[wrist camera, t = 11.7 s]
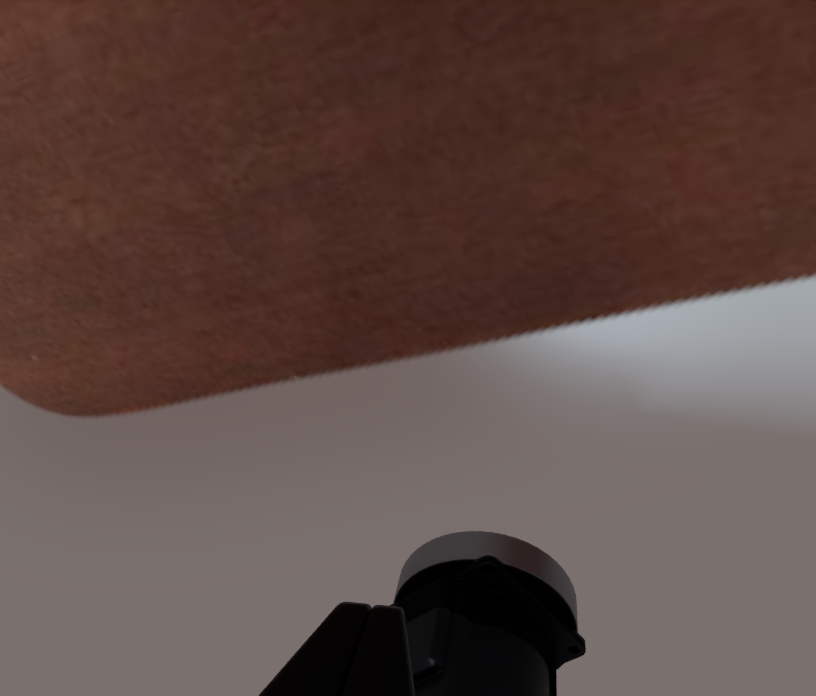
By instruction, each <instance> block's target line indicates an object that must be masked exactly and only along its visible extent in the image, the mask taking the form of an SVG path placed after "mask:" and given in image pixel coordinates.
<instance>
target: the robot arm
mask: <svg viewBox="0 0 816 696" xmlns="http://www.w3.org/2000/svg"><path fill="white" fill-rule="evenodd" d="M486 567H491V569H490V568H486ZM585 652H586V647H585V640H584V638H583V637H582V636H581V635H580V634H579V633H578V632H576V631H575V630H574V629H573V628H572V627H571V626H570V625H569V624H568V623H567V622H566V621H565V620H564V619H563V618H561V617H560V616H559V615H558V614H557V613H556V612H555V611H554V610H553V609H552V608H551V607H550V606H549V605H547V604H546V603H545V602H544V601H543V600H542V599H541V598H540V597H539V596H538V595H537V594H536V593H535V592H534V591H532V590H531V589H530V588H529V587H528V586H527V585H526V584H525V583H524V582H523V581H522V580H521V579H520V578H518V577H517V576H516V575H515V574H514V573H513V572H512V571H511V570H510V569H509V568H508V567H507V566H506V565H504V564H503V563H502V562H501V561H500V560H499V559H498V558H496V557H494V556H491V555H485V556H482V557H480V558H478V559H476V560H474V561H472V562H470V563H468V564H466V565H465V566H463V567H461V568H459V569H457V570H455V571H453V572H451V573H450V574H448V575H446V576H443V577H441V578H439V579H437V580H435V581H433V582H431V583H429V584H428V585H426V586H424V587H422V588H420V589H418V590H416V591H414V592H413V593H411V594H409V595H407V596H405V597H403V599H401V600H399V601H397V602H395V603H393V604H391V605H390V606H384V605H375V606H374V607H373V608H372V607H371V606H370V605H369V604H363V603H353V602H342V603H340V604H339V605H337V606H336V607H335V608H334V610H333V611H332V612H331V613H330V614H329V615H328V617H327V618H326V619H325V620H324V621H323V622H322V623H321V625H320V626H319V627H318V628H317V629H316V631H315V632H314V633H313V634H312V635H311V636H310V637H309V638H308V640H307V641H306V642H305V643H304V644H303V645H302V646H301V648H300V649H299V650H298V651H297V652H296V653H295V654H294V656H293V657H292V658H291V659H290V660H289V661H288V662H287V664H286V665H285V666H284V667H283V668H282V669H281V670H280V672H279V673H278V674H277V675H276V676H275V677H274V679H273V680H272V681H271V682H270V683H269V684H268V685H267V687H266V688H265V689H264V690H263V691H262V692H261V693H260V695H259V696H557V676H556V667H557V666H559V665H561V664H564V663H566V662H569V661H571V660H573V659H576V658H579V657H581V656H582V655H584V654H585Z"/></svg>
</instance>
